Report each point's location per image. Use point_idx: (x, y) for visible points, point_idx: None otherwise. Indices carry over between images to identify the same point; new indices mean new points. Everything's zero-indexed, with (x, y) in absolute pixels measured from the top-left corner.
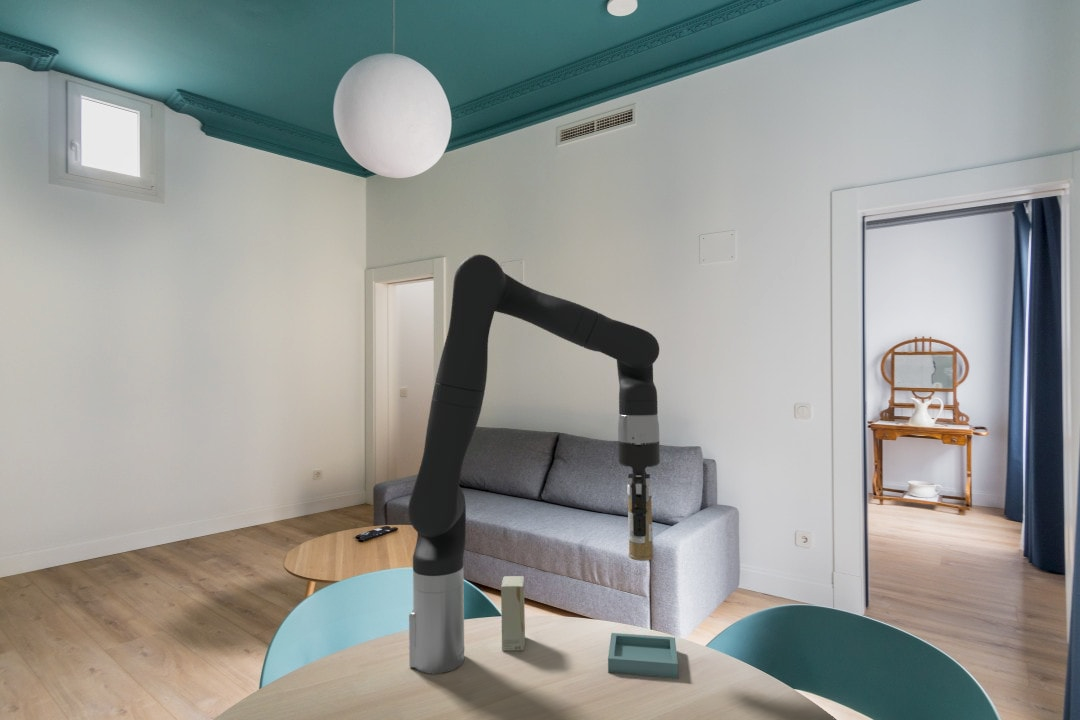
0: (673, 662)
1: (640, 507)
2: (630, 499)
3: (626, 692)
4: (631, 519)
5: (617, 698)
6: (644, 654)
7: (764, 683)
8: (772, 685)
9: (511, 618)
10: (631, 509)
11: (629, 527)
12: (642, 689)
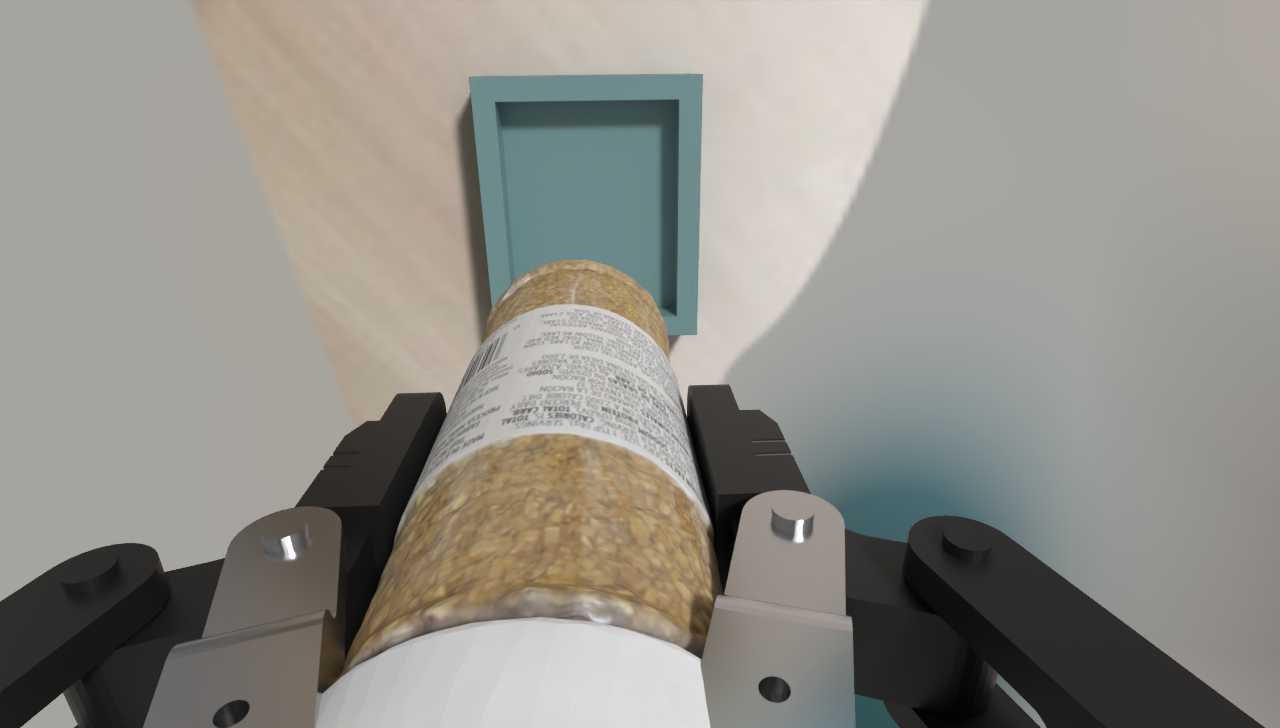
0: None
1: (93, 722)
2: (179, 659)
3: (365, 155)
4: (445, 437)
5: (317, 125)
6: (602, 215)
7: None
8: None
9: None
10: (61, 582)
11: (499, 363)
12: (402, 209)
